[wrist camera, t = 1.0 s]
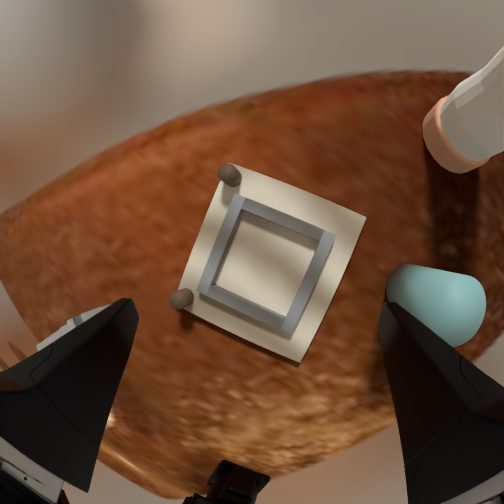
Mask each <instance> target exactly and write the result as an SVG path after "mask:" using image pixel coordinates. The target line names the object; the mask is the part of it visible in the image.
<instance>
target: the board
mask: <svg viewBox="0 0 504 504" xmlns="http://www.w3.org/2000/svg"><path fill="white" fill-rule="evenodd" d="M218 177H219V179H220V180H221V181H220V183H219V185H218V188H217V190H216V192H215V195H214V197H213V200H212V202H211V204H210V207H209V209H208V212H207V214H206V217H205V219H204V222H203V224H202V227H201V229H200V232H199V234H198V237H197V240H196V242H195V245H194V247H193V250H192V253H191V255H190V258H189V261H188V263H187V266H186V269H185V271H184V274H183V277H182V280H181V282H180V285H179V288H178V291H175V292H173V293H171V294H170V296H169V303H170V305H171V307H172V308H174V309H176V310H180V309H182V308H183V309H185V310H187V311H189V312H191V313H193V314H195V315H197V316H199V317H201V318H203V319H205V320H207V321H209V322H211V323H213V324H215V325H217V326H219V327H221V328H223V329H225V330H227V331H229V332H231V333H233V334H235V335H238V336H240V337H242V338H244V339H246V340H248V341H251V342H253V343H255V344H257V345H260V346H262V347H264V348H266V349H269V350H271V351H273V352H276V353H278V354H280V355H283V356H285V357H287V358H290V359H292V360H295V361H297V362H301V360H302V358H303V356H304V354H305V353H306V351H307V349H308V347H309V345H310V343H311V341H312V339H313V337H314V335H315V333H316V331H317V329H318V327H319V325H320V323H321V321H322V319H323V317H324V315H325V313H326V311H327V309H328V307H329V304H330V302H331V300H332V298H333V296H334V294H335V292H336V289H337V287H338V285H339V283H340V280H341V278H342V276H343V274H344V271H345V269H346V267H347V264H348V262H349V260H350V257H351V255H352V252H353V250H354V247H355V245H356V243H357V240H358V238H359V235H360V232H361V230H362V227H363V225H364V222H365V219H366V217H364V216H362V215H360V214H357V213H355V212H353V211H351V210H349V209H346V208H344V207H342V206H339V205H337V204H335V203H333V202H330V201H328V200H326V199H323V198H321V197H318V196H316V195H314V194H311V193H309V192H306V191H304V190H301V189H299V188H296V187H294V186H291V185H289V184H286V183H284V182H281V181H278V180H276V179H273V178H270V177H268V176H265V175H262V174H260V173H257V172H254V171H251V170H249V169H246V168H243V167H240V166H237V165H234V164H231V163H226V164H223V165H222V166H221V167H220V168H219V170H218Z"/></svg>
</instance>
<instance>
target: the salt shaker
mask: <svg viewBox="0 0 504 504" xmlns="http://www.w3.org/2000/svg"><path fill="white" fill-rule="evenodd" d="M422 130H423V138H424V141H425V144H426V146H427V149H428V150H429V152H430V153H431V155H432V157H433V158H434V159H435V160H436V161H437V162H438V163H439V164H440V165H441V166H442V167H443V168H445V169H447V170H448V171H450V172H454V173H458V174H460V173H465V172H468V171H471V170H473V169H475V168H477V167H479V166H481V165H483V164H485V163H486V162H487V161H488V160H489V158H490V157H491V156H493V155H496V154H498V153H500V152H503V151H504V47H503V48H502V49H501V50H500V51H499V52H498V53H497V54H496V55H495V56H494V57H493V58H492V59H491V61H490V62H489V63H488V64H487V65H486V66H485V67H484V68H483V69H481V70H480V71H478V72H477V73H475V74H473V75H472V76H470V77H469V78H467V79H466V80H464V81H463V82H461V83H460V84H458V85H457V87H456V88H455V89H454V90H453V92H452V93H451V94H450V95H449V96H446V97H444V98H442V99H440V100H439V101H438V102H437V104H436V105H435V106H434V107H433V108H432V109H431V110H430V111H429V113H428V114H427V115H426V117H425V118H424V121H423V126H422Z"/></svg>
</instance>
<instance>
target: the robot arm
mask: <svg viewBox="0 0 504 504" xmlns="http://www.w3.org/2000/svg"><path fill="white" fill-rule="evenodd" d="M138 322H139V316H138V313H137V310H136V307H135V304H134V301H133V300H132V299H130V298H121V299H119V300H118V301H116V302H115V303H113V304H111V305H110V306H108V307H107V308H105V309H103V310H102V311H100V312H99V313H97V314H95V315H94V316H92V317H91V318H89V319H88V320H86V321H84V322H83V323H81V324H80V325H78V326H77V327H75V328H74V329H72V330H70V331H69V332H67V333H66V334H64V335H63V336H61V337H60V338H58V339H57V340H55V341H54V342H52V343H50V344H49V345H47V346H46V347H44V348H43V349H41V350H40V351H38V352H37V353H35V354H33V355H31V356H30V357H28V358H26V359H24V360H23V361H21V362H19V363H17V364H16V365H14V366H12V367H10V368H8V369H7V370H5V371H2V372H0V504H70V503H69V501H68V499H67V497H66V495H65V492H64V490H62V486H63V483H64V481H65V482H67V483H69V484H70V485H72V486H74V487H76V488H78V489H80V490H82V491H84V492H86V493H88V491H89V487H90V483H91V478H92V475H93V471H94V467H95V463H96V459H97V455H98V451H99V447H100V444H101V440H102V437H103V433H104V430H105V426H106V423H107V420H108V417H109V413H110V410H111V407H112V404H113V401H114V398H115V395H116V392H117V389H118V386H119V383H120V380H121V378H122V375H123V372H124V369H125V366H126V364H127V361H128V358H129V355H130V352H131V348H132V344H133V340H134V336H135V333H136V329H137V325H138ZM378 327H379V333H380V339H381V346H382V352H383V359H384V364H385V369H386V373H387V377H388V381H389V385H390V390H391V394H392V399H393V403H394V408H395V413H396V418H397V423H398V428H399V434H400V440H401V446H402V452H403V459H404V468H405V475H406V484H407V495H408V504H443V503H444V504H504V387H503V386H501V385H500V384H499V383H497V382H496V381H495V380H493V379H492V378H490V377H489V376H487V375H486V374H485V373H484V372H482V371H481V370H480V369H478V368H477V367H476V366H475V365H473V364H472V363H471V362H470V361H468V360H467V359H466V358H465V357H464V356H463V355H460V353H459V352H458V351H456V350H455V349H454V348H453V347H452V346H450V345H449V344H448V343H447V342H446V341H444V340H443V339H442V338H441V337H439V336H438V335H437V334H436V333H434V332H433V331H432V330H431V329H430V328H428V327H427V326H426V325H424V324H423V323H422V322H421V321H419V320H418V319H417V318H416V317H414V316H413V315H412V314H411V313H409V312H408V311H407V310H405V309H404V308H403V307H401V306H400V305H399V304H398V303H396V302H385V303H384V304H383V307H382V311H381V314H380V317H379V321H378ZM224 463H225V464H224ZM269 481H270V477H269V476H267V475H264V474H261V473H258V472H255V471H252V470H250V469H247V468H244V467H241V466H239V465H236V464H234V463H231V462H229V461H227V460H222V461H221V462H220V463H219V465H218V466H217V468H216V470H215V471H214V473H213V474H212V476H211V477H210V479H209V480H208V482H207V485H209V486H211V487H210V489H209V491H208V494H207V496H206V498H205V497H203V496H200V495H199V494H197V493H195V494H194V495H193V497H192V496H191V497H186V498H185V500H184V502H183V504H255V501H256V497H257V494H258V493H259V492H260V491H261V490H262V489H263V488H264V487H265V485H266V484H267V483H268V482H269Z"/></svg>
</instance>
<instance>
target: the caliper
mask: <svg viewBox="0 0 504 504" xmlns="http://www.w3.org/2000/svg"><path fill="white" fill-rule="evenodd" d="M110 305H111V304H109V305H105V306H102V307H99V308H96V309H93V310H90V311H88V312H85V313H82V314H81V315H78V316H76V317H73V318H71V320H68V321H67V324H66V325H64V326H63V327H61V328H60V329H59V330H58V331H57V332H55V333H54V334H52V335H51V336H50V337H48V338H47V339H45V340H44V341H42V342H41V343H40V344H38V345H37V346H36V347H37V350H38V351H40V350H41V349H43V348H44V347H46V346H47V345H49V344H50V343H52V342H54V341H55V340H57V339H58V338H60V337H61V336H63V335H64V334H66V333H67V332H69V331H70V330H72V329H74V328H75V327H77V326H78V325H80V324H81V323H83V322H84V321H86V320H88V319H89V318H91V317H92V316H94V315H95V314H97V313H99V312H100V311H102V310H103V309H105V308H107V307H108V306H110Z"/></svg>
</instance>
